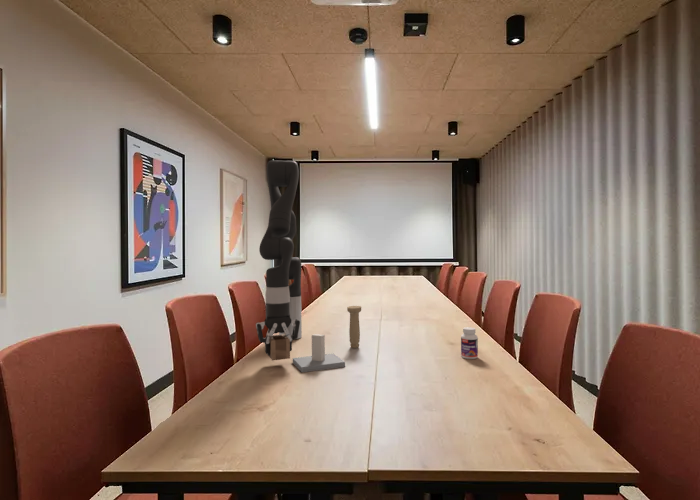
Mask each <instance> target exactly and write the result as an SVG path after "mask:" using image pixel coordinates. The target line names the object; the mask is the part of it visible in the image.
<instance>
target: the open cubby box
mask: <svg viewBox="0 0 700 500" xmlns="http://www.w3.org/2000/svg"><path fill="white" fill-rule="evenodd" d="M268 357H269V358H270V360H271V361H279V360H281V361H282V360H289V359H291V351H290V339H289V338H287V337H286V335H285V334H281V335H279V334H273V336H272V338H271V339H270V356H268Z"/></svg>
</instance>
